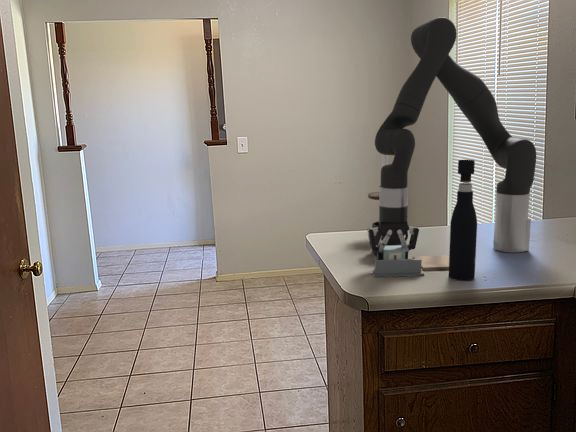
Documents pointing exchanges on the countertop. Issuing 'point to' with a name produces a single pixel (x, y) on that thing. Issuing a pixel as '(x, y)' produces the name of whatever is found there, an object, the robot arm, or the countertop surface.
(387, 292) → the countertop surface
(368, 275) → the countertop surface
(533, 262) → the countertop surface
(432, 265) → the coaster
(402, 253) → the letter cube
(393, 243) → the mug
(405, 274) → the grey angle bar
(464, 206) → the wine bottle
